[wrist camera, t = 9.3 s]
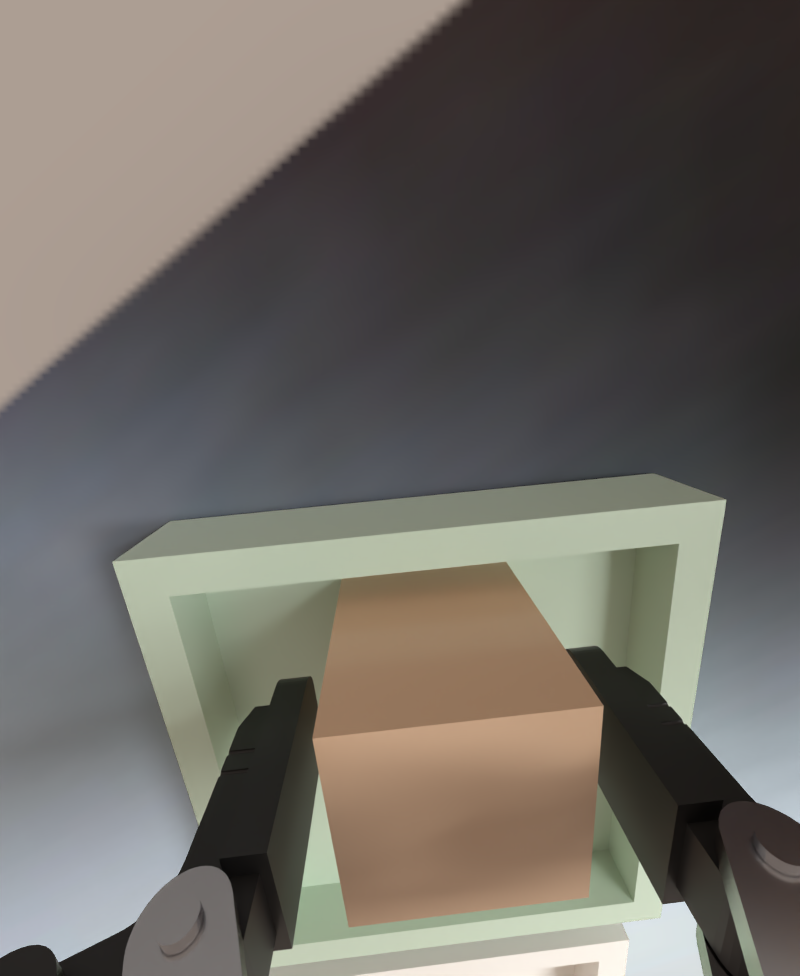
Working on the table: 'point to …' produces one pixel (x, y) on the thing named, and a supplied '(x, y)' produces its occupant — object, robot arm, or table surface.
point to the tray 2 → (491, 957)
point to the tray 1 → (405, 548)
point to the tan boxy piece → (454, 748)
